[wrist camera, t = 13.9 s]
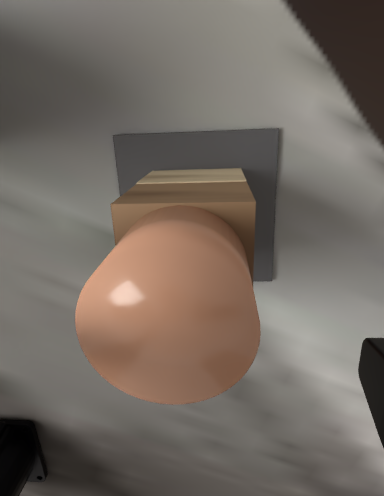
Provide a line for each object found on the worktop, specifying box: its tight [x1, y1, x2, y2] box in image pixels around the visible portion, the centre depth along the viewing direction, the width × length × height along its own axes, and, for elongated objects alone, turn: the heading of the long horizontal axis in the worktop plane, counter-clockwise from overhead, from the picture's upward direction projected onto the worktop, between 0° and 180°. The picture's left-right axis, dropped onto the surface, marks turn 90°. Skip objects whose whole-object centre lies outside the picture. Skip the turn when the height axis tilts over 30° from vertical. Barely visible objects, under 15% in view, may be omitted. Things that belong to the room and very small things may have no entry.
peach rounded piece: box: [75, 205, 260, 405], centre depth 11 cm, size 5×5×4 cm
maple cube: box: [136, 168, 246, 184], centre depth 18 cm, size 5×5×4 cm
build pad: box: [113, 128, 279, 281], centre depth 20 cm, size 9×9×1 cm
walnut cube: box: [111, 182, 256, 286], centre depth 14 cm, size 5×5×4 cm
